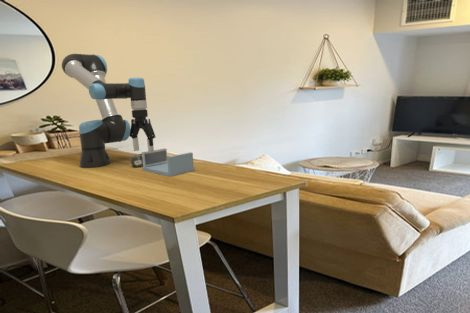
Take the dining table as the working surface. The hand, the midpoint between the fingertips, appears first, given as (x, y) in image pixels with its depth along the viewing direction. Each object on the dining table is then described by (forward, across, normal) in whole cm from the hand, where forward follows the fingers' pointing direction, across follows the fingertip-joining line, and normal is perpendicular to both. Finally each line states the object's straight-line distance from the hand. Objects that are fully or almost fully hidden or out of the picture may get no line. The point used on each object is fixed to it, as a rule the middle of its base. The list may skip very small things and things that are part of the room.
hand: (143, 151), depth 173 cm
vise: (+8, +20, 0) cm, 21 cm away
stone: (+8, -1, 0) cm, 8 cm away
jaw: (+6, +10, 0) cm, 12 cm away
